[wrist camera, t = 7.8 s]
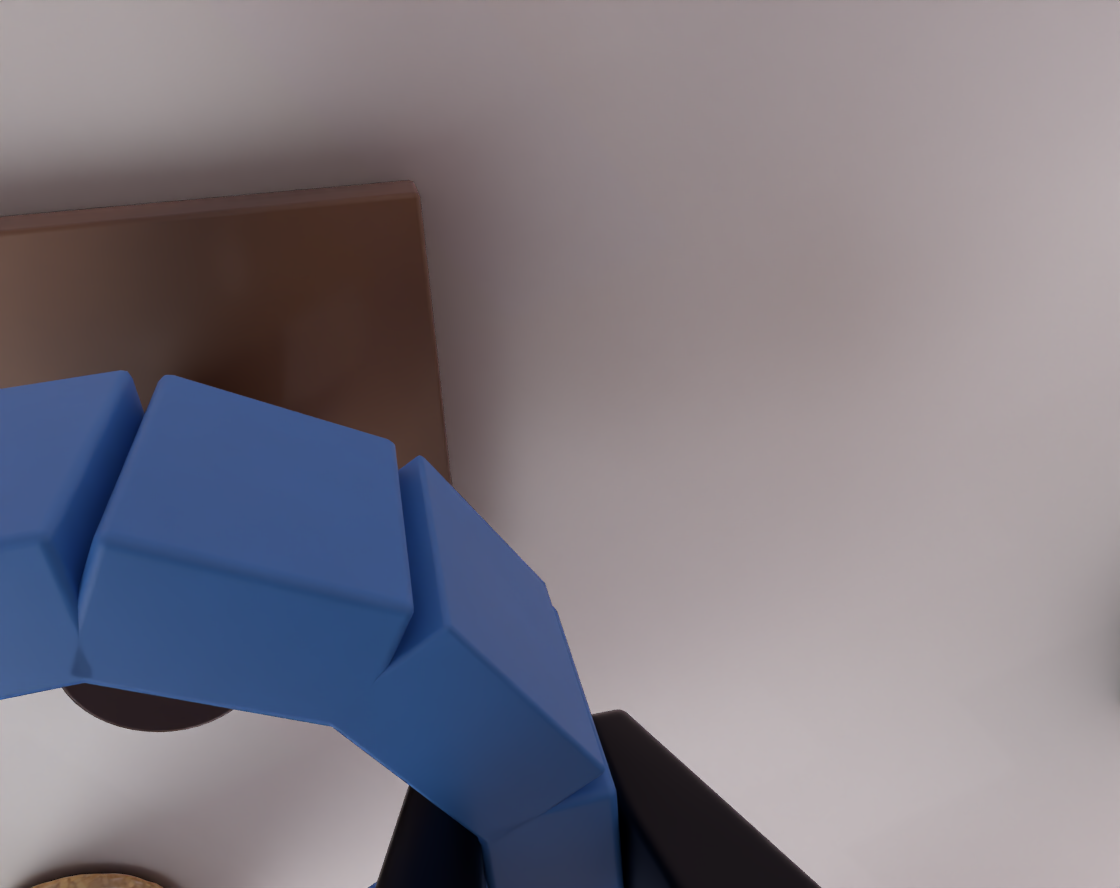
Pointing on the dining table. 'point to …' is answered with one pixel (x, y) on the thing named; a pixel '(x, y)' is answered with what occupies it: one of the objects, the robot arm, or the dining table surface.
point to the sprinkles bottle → (99, 882)
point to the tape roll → (300, 603)
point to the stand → (233, 324)
